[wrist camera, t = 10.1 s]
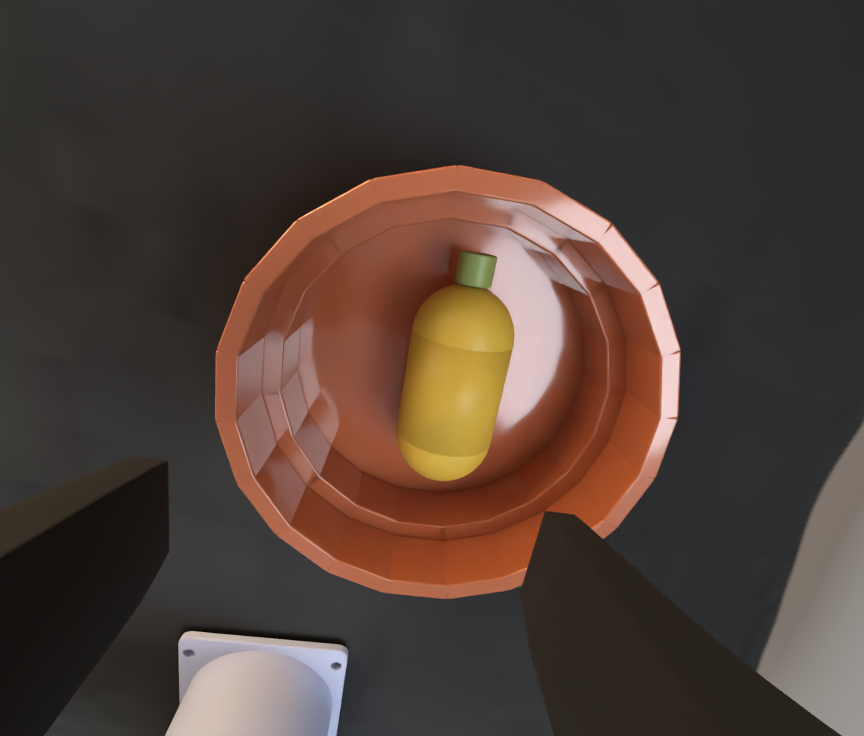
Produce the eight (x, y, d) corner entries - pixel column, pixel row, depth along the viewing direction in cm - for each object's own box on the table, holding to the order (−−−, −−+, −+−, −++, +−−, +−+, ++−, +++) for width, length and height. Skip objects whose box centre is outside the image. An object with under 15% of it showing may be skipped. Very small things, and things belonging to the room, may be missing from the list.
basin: (559, 521, 20) (603, 616, 15) (263, 486, 19) (212, 576, 14) (653, 219, 16) (755, 220, 11) (281, 151, 15) (217, 118, 10)
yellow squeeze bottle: (466, 451, 18) (493, 502, 15) (385, 447, 17) (396, 500, 14) (509, 255, 16) (552, 267, 13) (416, 240, 15) (437, 249, 12)
